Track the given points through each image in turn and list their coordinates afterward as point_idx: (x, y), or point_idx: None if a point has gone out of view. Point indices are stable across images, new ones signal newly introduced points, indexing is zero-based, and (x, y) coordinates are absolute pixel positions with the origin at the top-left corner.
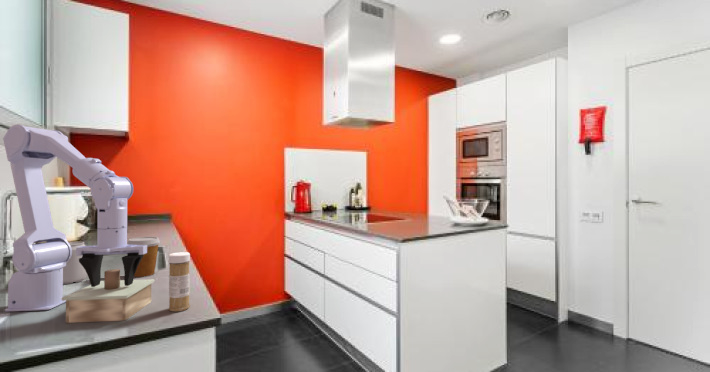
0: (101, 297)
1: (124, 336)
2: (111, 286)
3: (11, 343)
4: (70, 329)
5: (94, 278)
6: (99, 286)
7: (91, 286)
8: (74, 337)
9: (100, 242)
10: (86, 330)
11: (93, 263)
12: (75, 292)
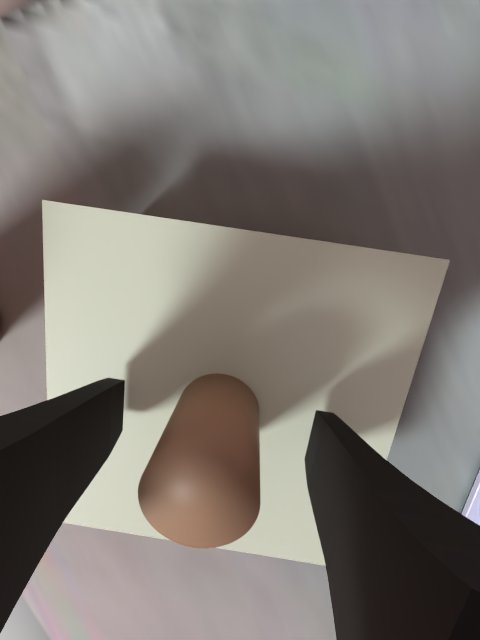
0: (201, 223)
1: (43, 11)
2: (204, 384)
3: None
4: (315, 171)
5: (330, 451)
6: None
7: (334, 414)
8: (257, 58)
9: None
10: (242, 139)
11: (388, 585)
12: (404, 362)
